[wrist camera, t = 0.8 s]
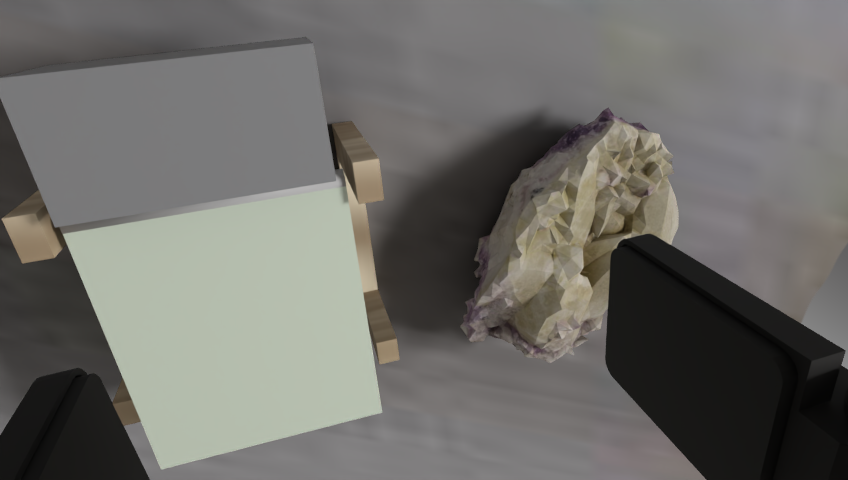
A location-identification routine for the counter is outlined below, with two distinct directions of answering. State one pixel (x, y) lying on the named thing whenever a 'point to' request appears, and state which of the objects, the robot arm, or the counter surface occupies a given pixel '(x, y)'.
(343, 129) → the frame
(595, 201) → the geode
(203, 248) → the trapdoor
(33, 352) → the counter surface
